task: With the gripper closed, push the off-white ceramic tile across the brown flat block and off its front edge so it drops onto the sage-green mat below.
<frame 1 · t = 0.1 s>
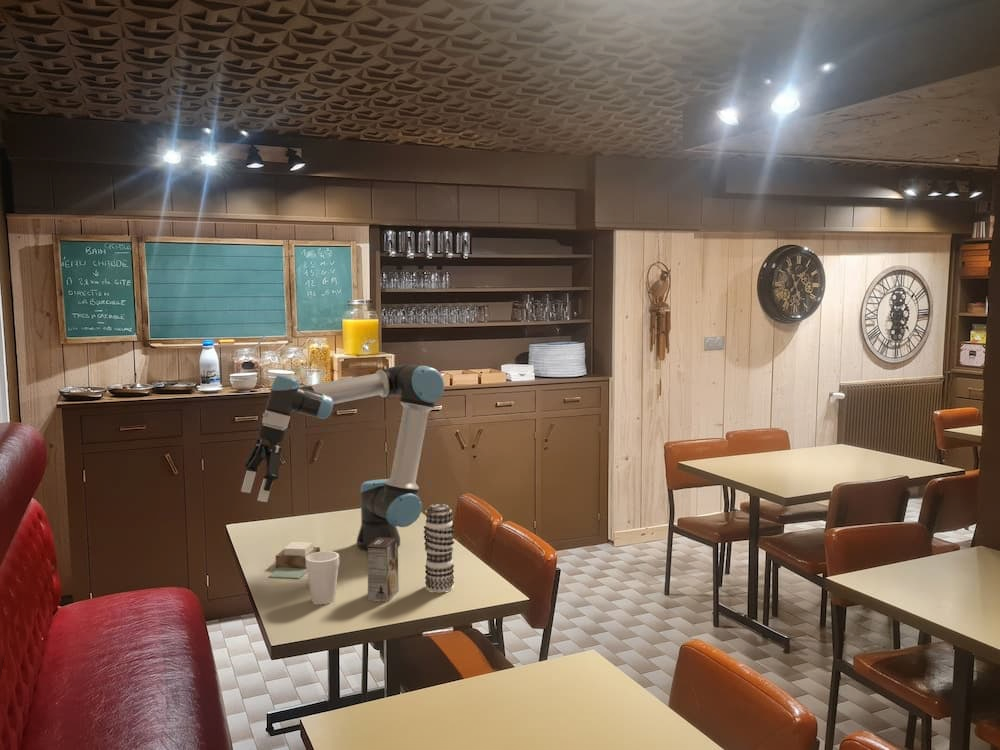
hand: (253, 496, 227), 28 cm above the table, tool tilted 20°, fingers open, 13 cm apart
coffee box: (383, 596, 224), on the table
brown flat block: (298, 563, 251), on the table
foam cup: (323, 601, 220), on the table
tile: (298, 552, 250), point 4 cm above the table, touching brown flat block
decorative candle: (439, 588, 230), on the table
mat: (289, 573, 242), on the table
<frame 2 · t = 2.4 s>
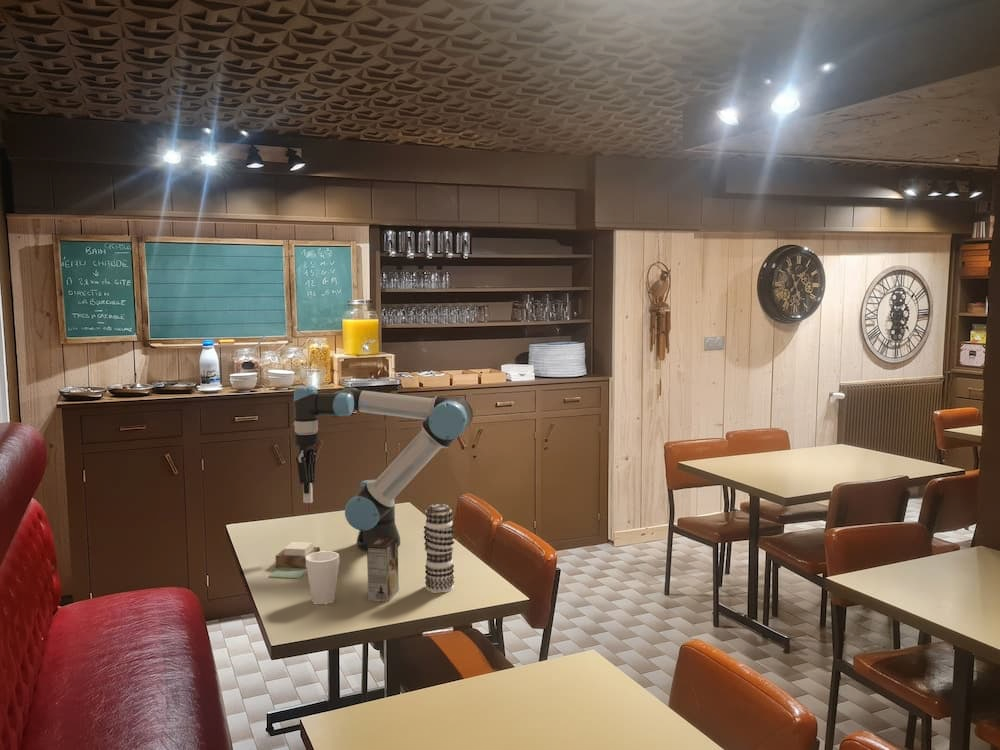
hand: (308, 502, 258), 18 cm above the table, tool pointing down, fingers closed
nothing on the table moved.
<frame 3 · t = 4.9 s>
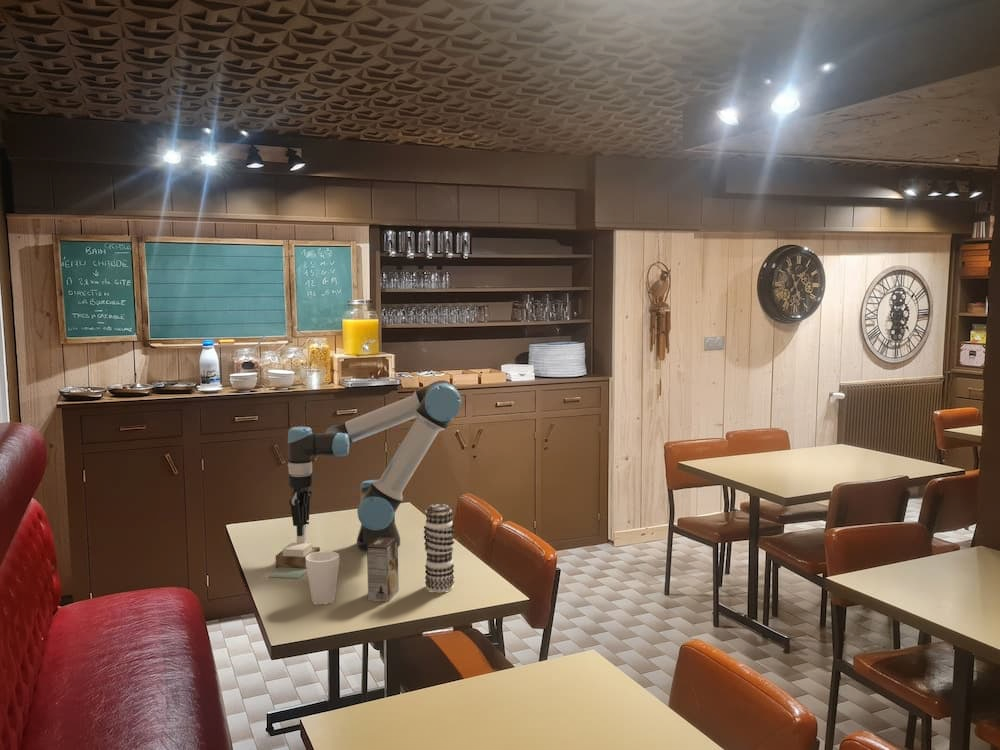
hand: (301, 544, 254), 5 cm above the table, tool pointing down, fingers closed
tile: (297, 552, 250), point 4 cm above the table, touching brown flat block, gripper
everything else where it was.
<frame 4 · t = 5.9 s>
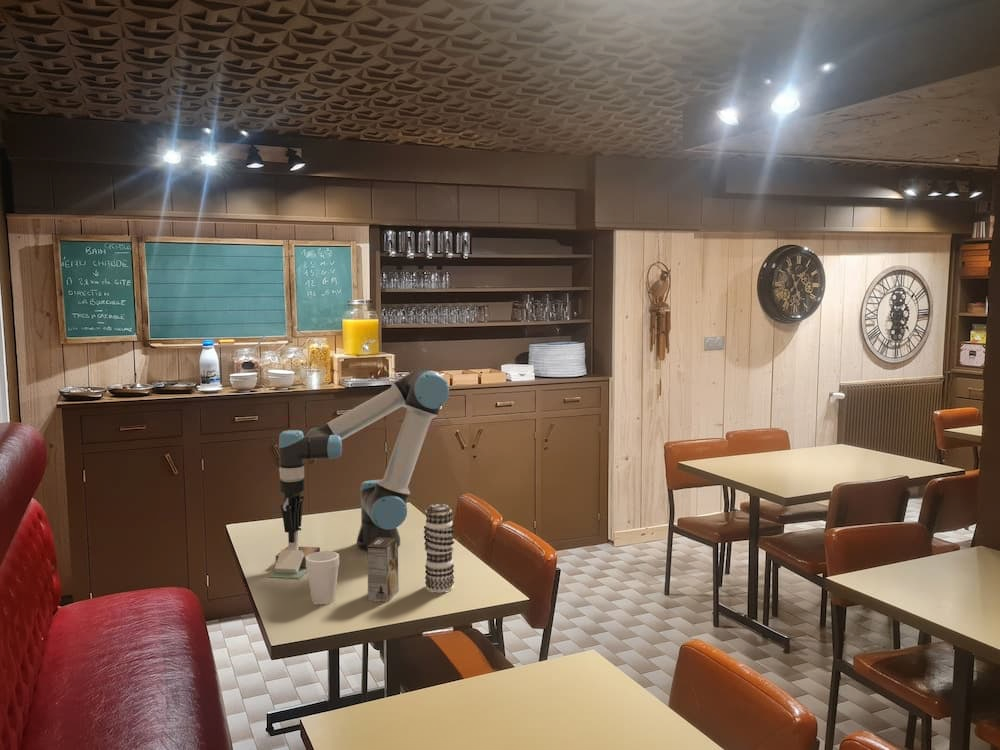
hand: (293, 551, 247), 5 cm above the table, tool pointing down, fingers closed
tile: (290, 563, 244), point 3 cm above the table, tilted 37°, touching gripper
everything else where it was.
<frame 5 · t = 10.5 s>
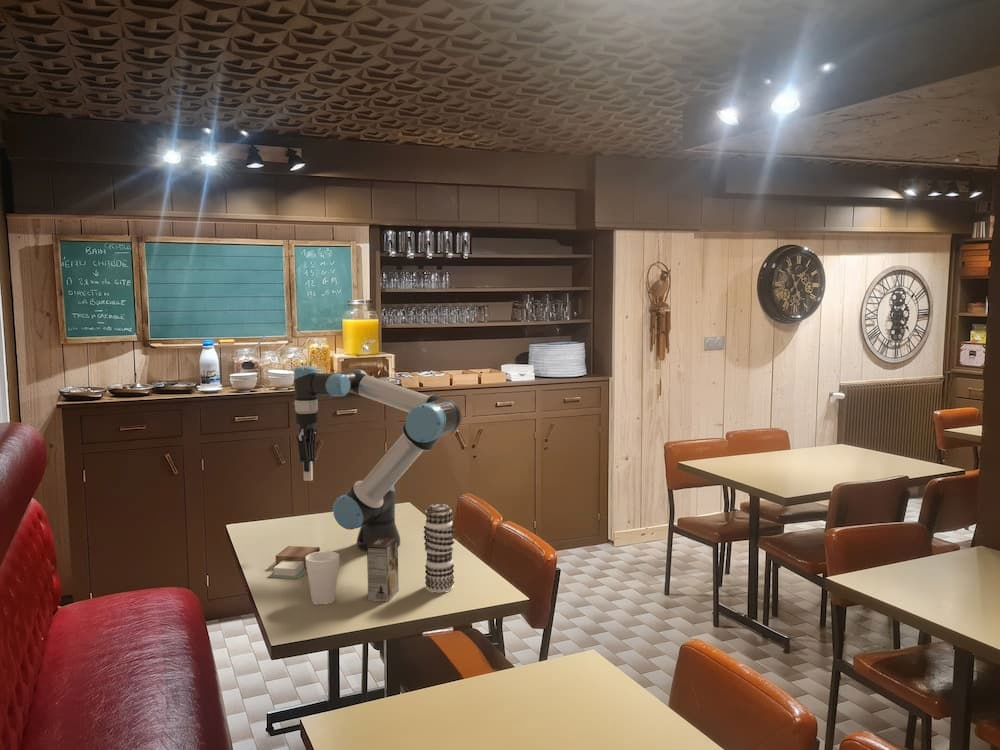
hand: (308, 480, 263), 24 cm above the table, tool pointing down, fingers closed
tile: (289, 571, 243), resting on mat
everything else where it was.
at the end: tile inside the target area (1.4 cm from its centre), resting on mat; tile touching mat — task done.
